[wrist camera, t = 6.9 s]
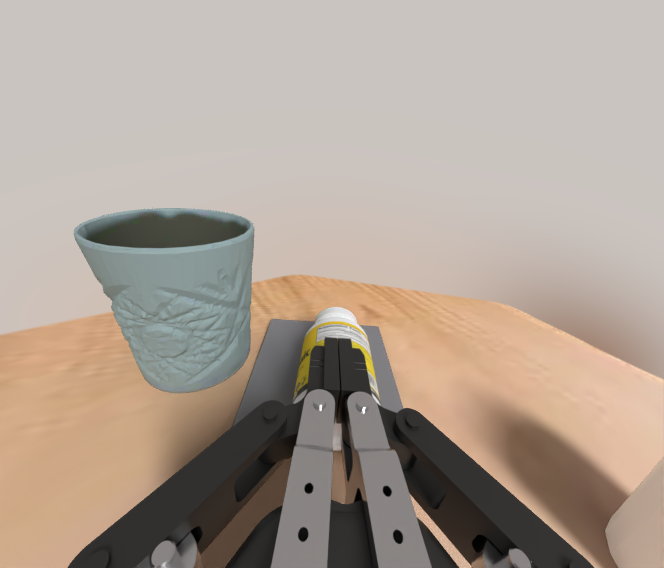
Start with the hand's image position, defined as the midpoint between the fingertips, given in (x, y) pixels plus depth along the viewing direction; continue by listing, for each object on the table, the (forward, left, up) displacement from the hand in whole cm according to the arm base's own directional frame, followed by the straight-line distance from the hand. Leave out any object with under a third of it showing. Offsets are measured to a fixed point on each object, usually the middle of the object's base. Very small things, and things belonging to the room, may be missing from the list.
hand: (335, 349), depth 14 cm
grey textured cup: (-5, +12, -7) cm, 15 cm away
